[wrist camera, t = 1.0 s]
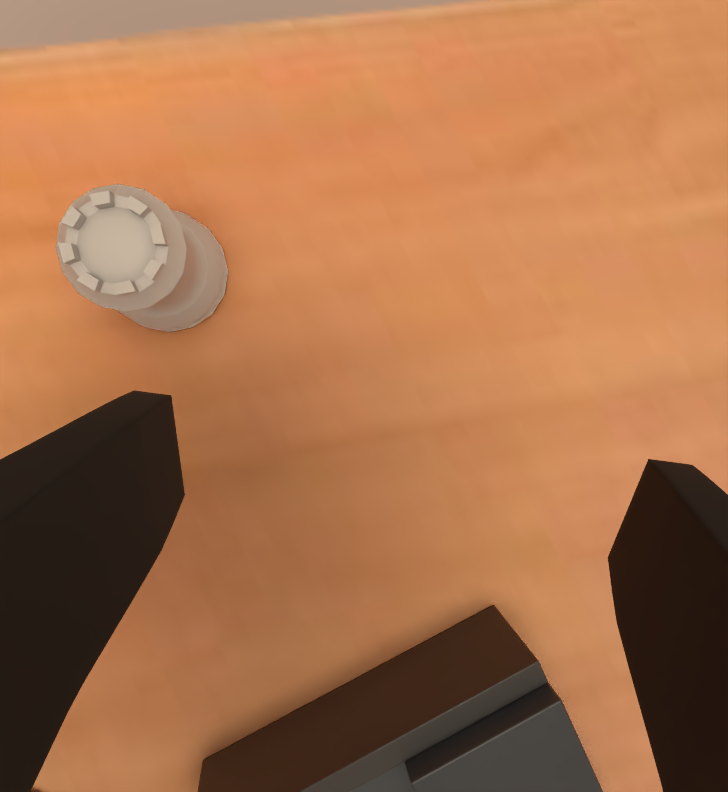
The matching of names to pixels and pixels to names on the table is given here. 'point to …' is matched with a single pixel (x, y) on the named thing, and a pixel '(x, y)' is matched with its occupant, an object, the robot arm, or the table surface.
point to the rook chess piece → (141, 258)
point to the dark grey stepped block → (422, 727)
